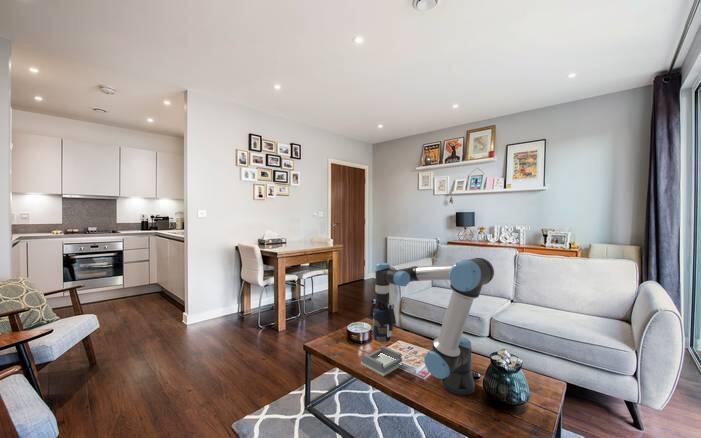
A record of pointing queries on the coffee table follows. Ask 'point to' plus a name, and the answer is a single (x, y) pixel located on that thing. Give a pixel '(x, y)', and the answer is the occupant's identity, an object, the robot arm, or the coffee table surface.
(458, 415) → the coffee table surface
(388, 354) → the grey square tray
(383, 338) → the canister
